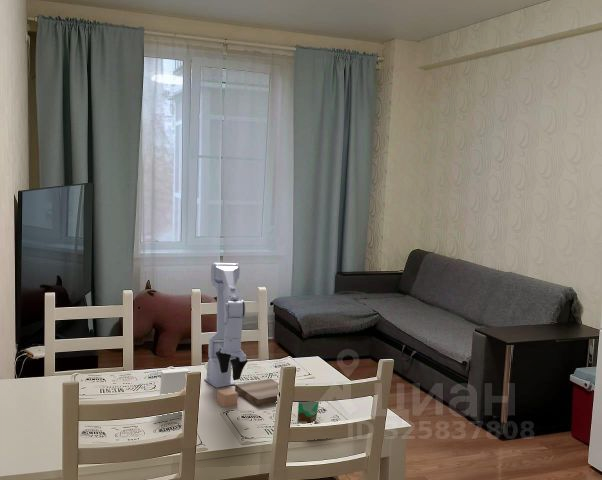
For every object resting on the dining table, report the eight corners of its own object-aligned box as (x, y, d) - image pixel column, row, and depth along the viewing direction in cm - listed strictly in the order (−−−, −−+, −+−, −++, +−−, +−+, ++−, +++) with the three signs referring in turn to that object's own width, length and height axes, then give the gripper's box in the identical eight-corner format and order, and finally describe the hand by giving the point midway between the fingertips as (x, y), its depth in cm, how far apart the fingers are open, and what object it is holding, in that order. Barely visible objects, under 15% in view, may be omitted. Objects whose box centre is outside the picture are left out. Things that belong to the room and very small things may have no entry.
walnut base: (234, 391, 215) (235, 384, 215) (270, 385, 224) (270, 378, 224) (257, 406, 203) (258, 399, 203) (294, 399, 212) (294, 392, 212)
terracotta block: (216, 401, 205) (217, 390, 205) (229, 399, 208) (230, 388, 208) (224, 407, 201) (224, 395, 201) (237, 404, 204) (237, 392, 204)
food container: (315, 431, 188) (318, 399, 187) (296, 427, 189) (298, 396, 188) (322, 415, 200) (324, 386, 199) (303, 412, 201) (306, 383, 200)
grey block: (163, 413, 192) (165, 376, 191) (156, 402, 200) (158, 367, 199) (191, 409, 196) (193, 373, 195) (183, 399, 204) (185, 365, 203)
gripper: (211, 332, 205) (208, 371, 206) (234, 343, 194) (231, 384, 195) (228, 329, 209) (226, 367, 211) (252, 341, 198) (249, 381, 200)
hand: (230, 375), depth 203 cm, fingers open, 7 cm apart
